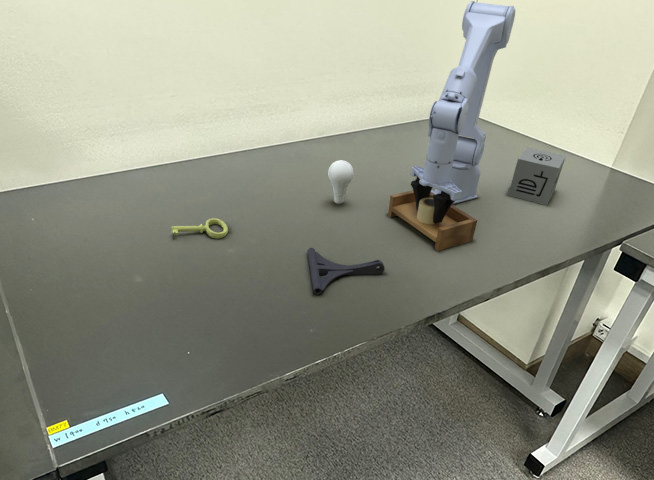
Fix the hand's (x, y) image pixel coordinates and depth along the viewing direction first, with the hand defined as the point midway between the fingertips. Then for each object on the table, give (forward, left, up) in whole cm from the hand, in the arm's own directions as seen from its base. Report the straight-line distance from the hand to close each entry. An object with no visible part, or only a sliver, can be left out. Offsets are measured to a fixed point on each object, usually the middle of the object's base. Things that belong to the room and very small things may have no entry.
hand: (428, 216), depth 121 cm
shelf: (0, 0, -3) cm, 3 cm away
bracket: (+27, +7, -4) cm, 28 cm away
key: (+47, -21, -4) cm, 51 cm away
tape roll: (0, 0, -1) cm, 1 cm away
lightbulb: (+12, -20, -4) cm, 23 cm away
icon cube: (-38, -3, -4) cm, 39 cm away
